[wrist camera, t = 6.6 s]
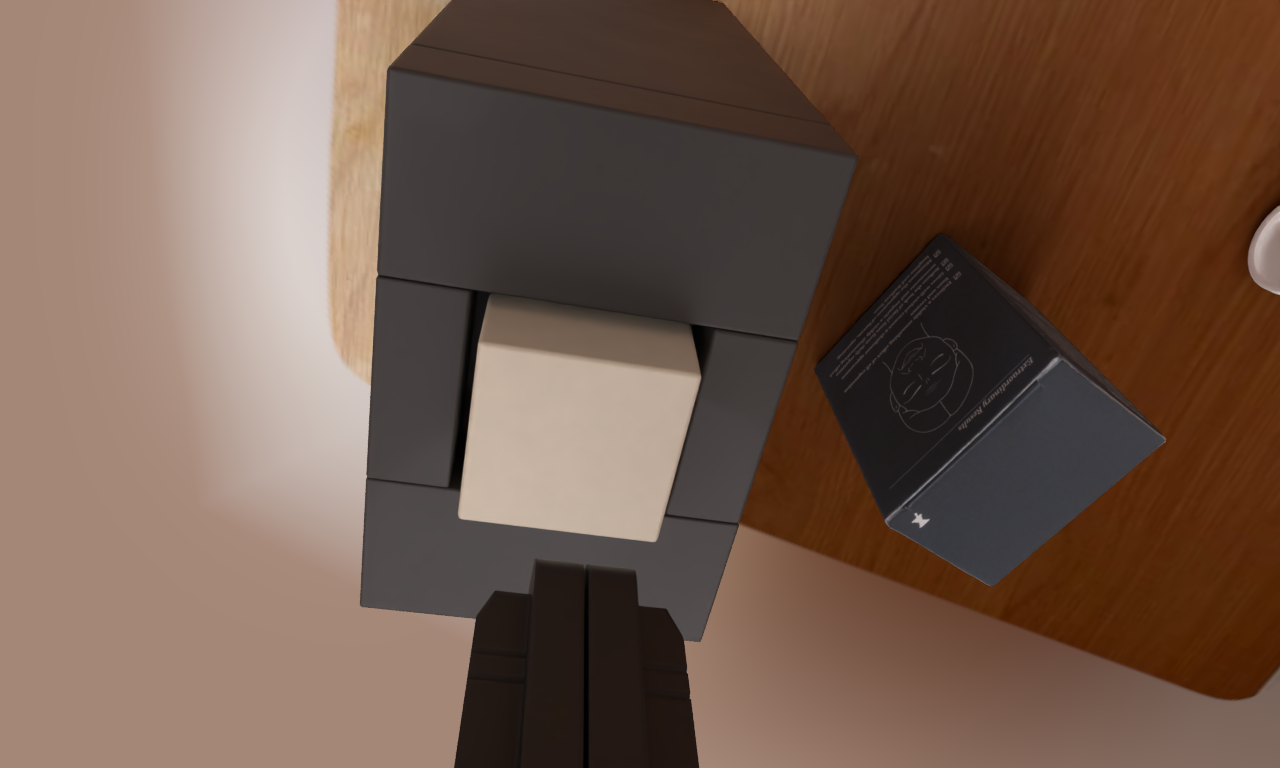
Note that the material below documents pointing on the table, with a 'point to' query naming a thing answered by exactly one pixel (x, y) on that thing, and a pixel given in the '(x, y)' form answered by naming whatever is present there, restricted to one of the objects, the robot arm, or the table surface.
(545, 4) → the dark block with slot
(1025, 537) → the box
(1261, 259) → the binoculars
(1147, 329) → the table surface
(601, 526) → the key
